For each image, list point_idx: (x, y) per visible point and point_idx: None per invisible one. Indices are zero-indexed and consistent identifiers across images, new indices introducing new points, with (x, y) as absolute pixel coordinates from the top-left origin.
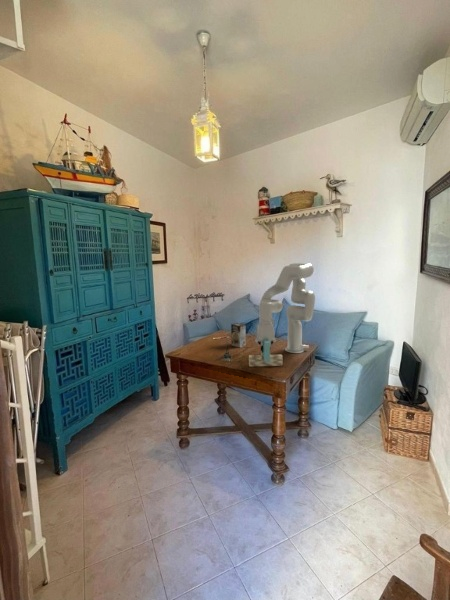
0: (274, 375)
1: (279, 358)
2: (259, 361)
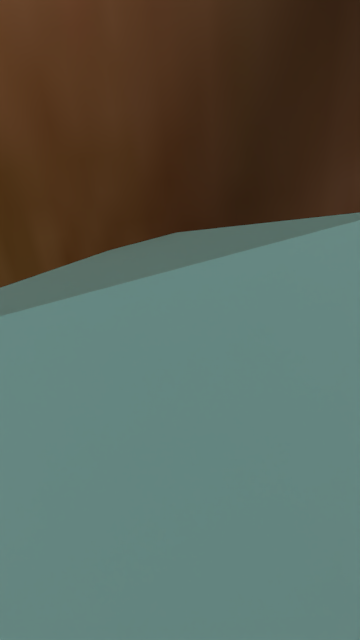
0: None
1: None
2: None
